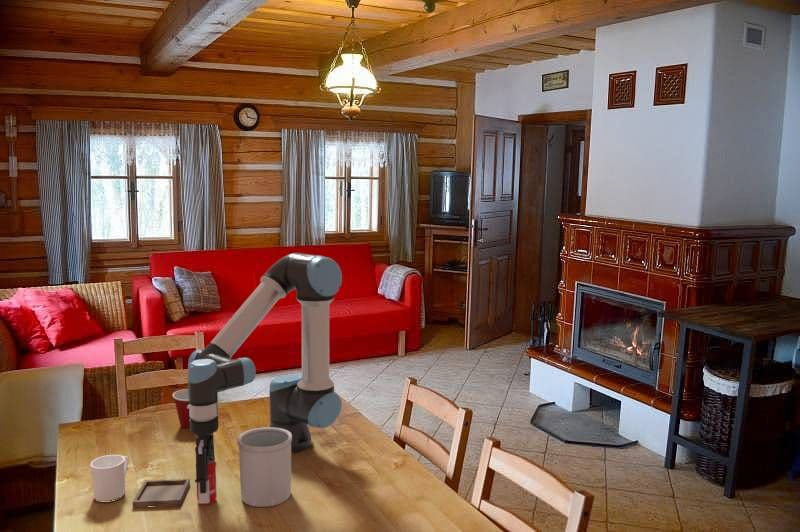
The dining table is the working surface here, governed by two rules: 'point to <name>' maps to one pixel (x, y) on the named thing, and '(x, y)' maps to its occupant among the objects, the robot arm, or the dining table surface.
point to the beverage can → (210, 481)
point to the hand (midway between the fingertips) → (206, 495)
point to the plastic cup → (182, 407)
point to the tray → (161, 493)
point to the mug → (109, 477)
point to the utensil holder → (265, 466)
